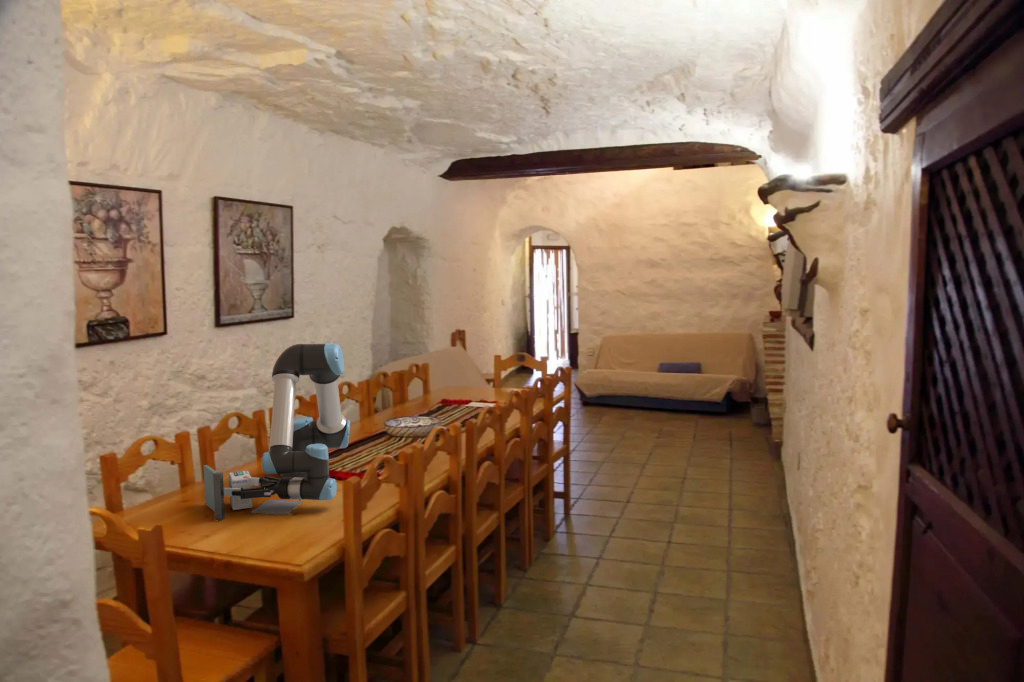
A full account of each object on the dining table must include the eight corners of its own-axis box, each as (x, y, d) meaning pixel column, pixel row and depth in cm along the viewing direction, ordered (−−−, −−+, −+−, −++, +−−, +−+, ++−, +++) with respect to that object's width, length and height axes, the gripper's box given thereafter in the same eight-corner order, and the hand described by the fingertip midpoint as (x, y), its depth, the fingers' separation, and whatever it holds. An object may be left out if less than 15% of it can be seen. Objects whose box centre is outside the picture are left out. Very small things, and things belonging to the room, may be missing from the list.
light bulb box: (229, 501, 257) (228, 472, 256) (249, 498, 260) (247, 469, 259) (232, 510, 247) (231, 480, 246) (253, 507, 251) (251, 477, 249)
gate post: (218, 518, 241) (216, 472, 240) (224, 518, 241) (222, 472, 240) (215, 520, 239) (213, 474, 238) (221, 520, 239) (219, 474, 238)
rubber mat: (268, 501, 259) (268, 499, 259) (302, 502, 258) (302, 500, 258) (251, 513, 247) (251, 511, 247) (287, 514, 245) (287, 512, 245)
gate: (205, 503, 255) (203, 465, 254) (208, 503, 256) (207, 464, 255) (220, 516, 242) (219, 476, 240) (224, 516, 242) (222, 475, 241)
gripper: (277, 510, 239) (216, 507, 242) (305, 488, 263) (249, 486, 266) (276, 488, 239) (215, 486, 241) (305, 468, 263) (249, 466, 265)
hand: (233, 486), depth 253 cm, fingers closed on light bulb box, 12 cm apart
